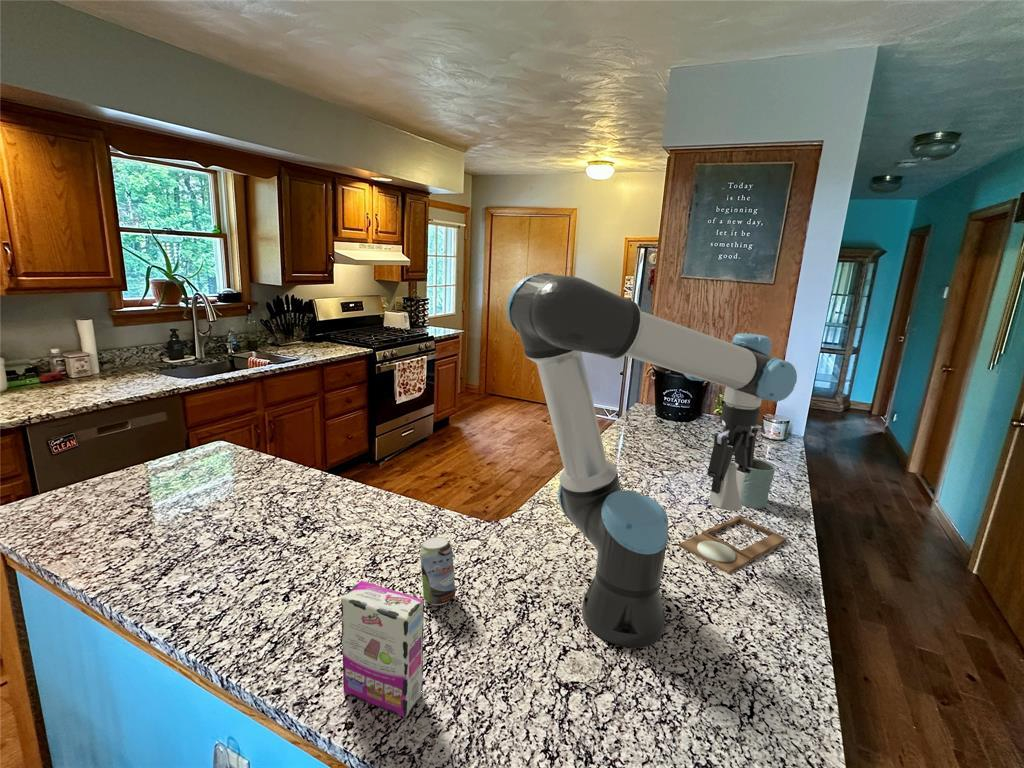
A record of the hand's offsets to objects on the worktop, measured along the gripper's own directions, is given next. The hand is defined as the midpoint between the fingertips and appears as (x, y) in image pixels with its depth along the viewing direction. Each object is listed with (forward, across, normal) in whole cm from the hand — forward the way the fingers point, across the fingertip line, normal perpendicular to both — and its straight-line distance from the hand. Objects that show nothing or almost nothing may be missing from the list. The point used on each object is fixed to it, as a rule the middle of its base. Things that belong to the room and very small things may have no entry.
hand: (725, 500), depth 114 cm
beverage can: (+14, -63, +20) cm, 67 cm away
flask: (+1, 0, 0) cm, 1 cm away
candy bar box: (+14, -80, +4) cm, 81 cm away
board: (+14, +8, 0) cm, 16 cm away
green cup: (+14, +35, +12) cm, 39 cm away
